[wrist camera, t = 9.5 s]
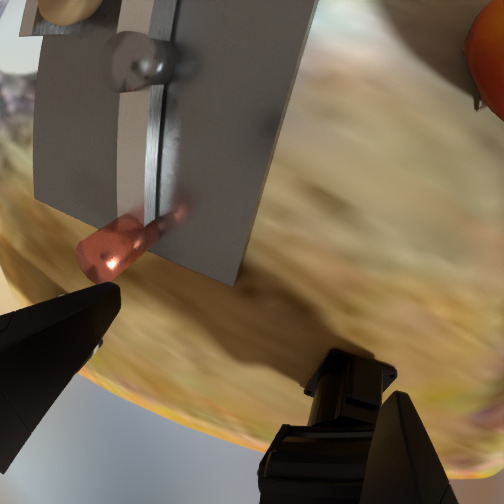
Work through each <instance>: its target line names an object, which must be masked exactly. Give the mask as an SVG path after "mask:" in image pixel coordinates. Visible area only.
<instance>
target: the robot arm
mask: <svg viewBox="0 0 504 504" xmlns="http://www.w3.org/2000/svg"><path fill="white" fill-rule="evenodd" d="M120 308H121V293H120V287H119V286H118V285H116V284H114V283H112V282H110V281H108V282H104V283H101V284H98V285H94V286H91V287H88V288H85V289H82V290H78V291H75V292H72V293H69V294H66V295H63V296H60V297H56V298H53V299H50V300H47V301H44V302H41V303H38V304H35V305H32V306H28V307H25V308H22V309H19V310H16V311H13V312H10V313H7V314H4V315H0V473H2V474H4V473H5V472H6V471H7V469H8V468H9V466H10V464H11V463H12V462H13V460H14V458H15V457H16V455H17V454H18V453H19V451H20V450H21V448H22V447H23V445H24V444H25V442H26V441H27V439H28V438H29V437H30V435H31V433H32V432H33V431H34V429H35V428H36V426H37V425H38V424H39V422H40V421H41V419H42V418H43V417H44V415H45V414H46V413H47V411H48V410H49V408H50V407H51V406H52V404H53V403H54V402H55V400H56V399H57V397H58V396H59V395H60V394H61V392H62V391H63V390H64V388H65V387H66V385H67V384H68V383H69V382H70V380H71V379H72V378H73V376H74V375H75V374H76V372H77V371H78V370H79V369H80V367H81V366H82V365H83V363H84V362H85V361H86V360H87V358H88V357H89V356H90V355H91V353H92V352H93V351H94V349H95V348H96V347H97V345H98V344H99V342H100V341H101V339H102V338H103V336H104V334H105V333H106V331H107V330H108V328H109V327H110V325H111V323H112V322H113V320H114V319H115V317H116V316H117V314H118V313H119V311H120ZM333 354H335V355H333ZM391 374H392V375H391ZM396 378H397V370H396V369H393V368H390V367H387V366H384V365H381V364H378V363H375V362H372V361H369V360H366V359H363V358H360V357H358V356H355V355H352V354H349V353H346V352H343V351H341V350H338V349H331V350H329V352H328V353H327V355H326V356H325V358H324V359H323V361H322V363H321V364H320V366H319V367H318V369H317V370H316V372H315V373H314V375H313V376H312V378H311V379H310V381H309V382H308V384H307V385H306V387H305V389H304V394H305V395H307V396H310V397H313V398H314V399H313V403H312V407H311V412H310V416H309V420H308V424H307V426H290V424H283V425H282V426H281V428H280V430H279V432H278V433H277V434H276V436H275V438H274V440H273V441H272V443H271V445H270V447H269V448H268V450H267V452H266V453H265V455H264V457H263V459H262V461H261V462H260V464H259V469H258V471H257V475H258V487H259V491H260V493H261V495H260V503H259V504H459V503H458V501H457V499H456V496H455V494H454V492H453V489H452V487H451V485H450V484H449V480H448V478H447V476H446V473H445V471H444V469H443V466H442V464H441V462H440V460H439V457H438V455H437V453H436V451H435V449H434V447H433V444H432V442H431V440H430V438H429V436H428V434H427V432H426V429H425V427H424V425H423V423H422V421H421V419H420V417H419V415H418V413H417V411H416V409H415V407H414V405H413V403H412V401H411V399H410V397H409V395H408V394H407V393H405V392H402V391H398V390H396V391H394V392H393V393H392V394H391V395H390V396H389V398H388V399H387V400H386V401H385V402H384V403H383V404H382V393H383V392H384V391H385V390H386V389H387V388H388V387H389V386H390V384H391V383H392V382H393V381H394V380H395V379H396ZM381 405H382V406H381Z"/></svg>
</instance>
